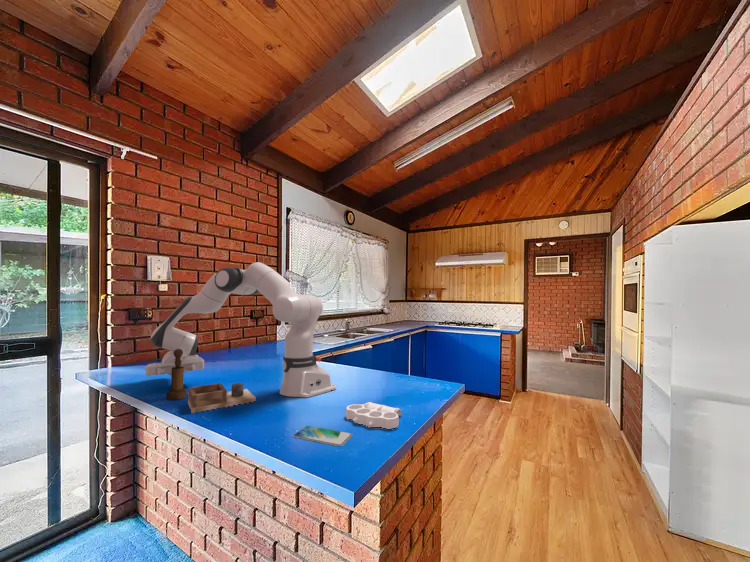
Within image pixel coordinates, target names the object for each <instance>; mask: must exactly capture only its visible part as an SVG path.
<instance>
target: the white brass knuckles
mask: <svg viewBox="0 0 750 562" xmlns="http://www.w3.org/2000/svg"><path fill="white" fill-rule="evenodd" d="M402 412H403V411H402V409H400V408H399V407H393V406H392V407H391V406H388V405H385V404H378V403H374V402H372V401H369V402H366V403H363V404H359V403H356V404H355V403H354V404H350V405H347V406H346V410H345V419H346V420H349V419H352V420H353V421H352V420H351V421H352V422H353V423H354V424H356V423H358V424H363V425H362V426H364V425H366V426H365V427H367V426H368V427H367V428H370V427H382V428H381V429H383V428H386V429H391V428H395V427H397V426H398V425H399V424H400V423H399V418H400V417H399V416H398V415H401V416H402ZM358 424H357V425H358ZM398 427H399V426H398ZM398 427H397V428H398ZM386 429H385V430H386Z"/></svg>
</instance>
